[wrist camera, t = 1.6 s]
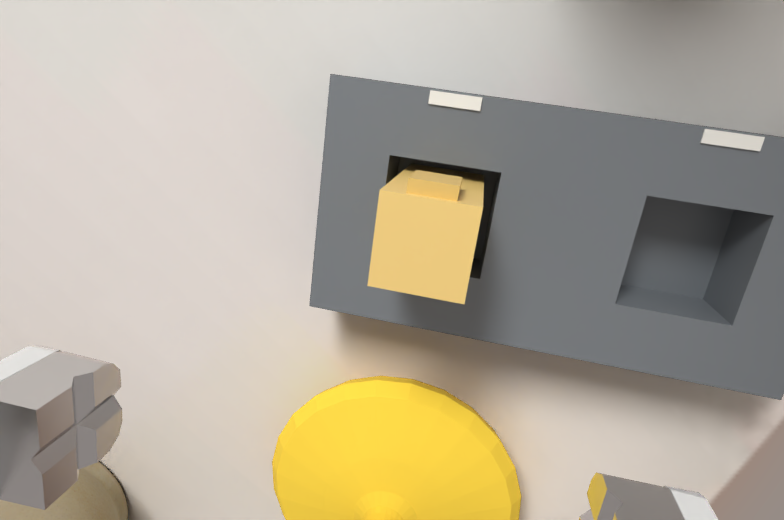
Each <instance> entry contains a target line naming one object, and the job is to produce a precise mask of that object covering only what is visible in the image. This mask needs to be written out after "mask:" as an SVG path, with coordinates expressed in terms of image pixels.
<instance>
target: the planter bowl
mask: <svg viewBox="0 0 784 520" xmlns="http://www.w3.org/2000/svg"><path fill="white" fill-rule="evenodd" d="M127 518H128V508H127V502H126V498H125V496H124V493H123V491H122V488H121V486H120V485H119V483H118V481H117V480H116V479H115V477H114V476H113V475H112V474H111V473H110V472H109V470H108V469H107V468H106V467H105V466H103V465H102V464H101V463H100V462H97V463H94V464H92V465H89V466H87V467H84V468H81V469H79V474H78V481H77V482H75V483H74V484H73V485H72V486H71V487H70V488H69V489H68V490H67V491H66V492H64V493H63V494H62V495H61V496H60V497H59V498H58V499H57V500H56V501H55V502H53V503H52V504H51V505H50V506H49V507H48V508H47V509H46V510H42V509H38V508H34V507H29V506H25V505H21V504H17V503H12V502H8V501H4V500H0V520H127Z"/></svg>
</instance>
